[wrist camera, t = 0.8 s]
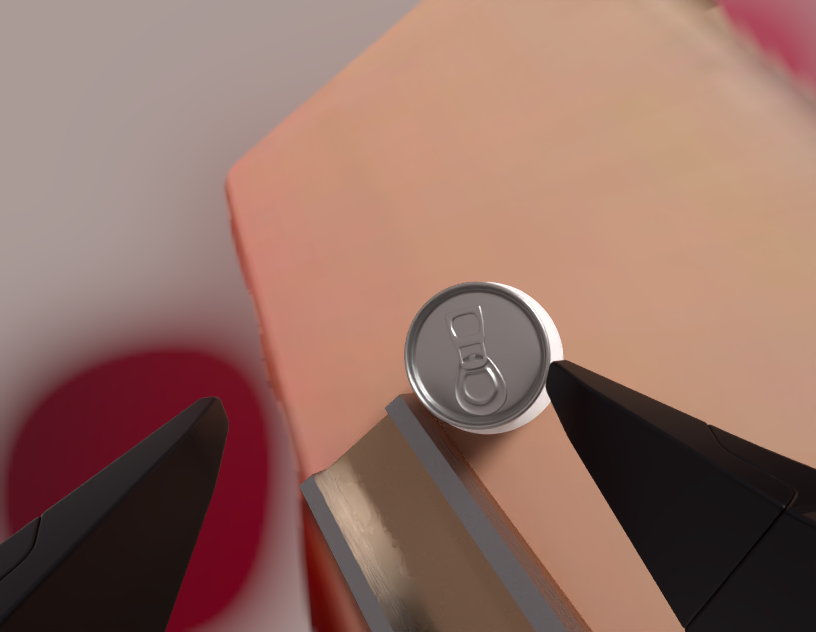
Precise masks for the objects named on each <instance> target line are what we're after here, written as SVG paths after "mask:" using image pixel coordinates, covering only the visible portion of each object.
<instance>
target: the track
mask: <svg viewBox="0 0 816 632" xmlns="http://www.w3.org/2000/svg"><path fill="white" fill-rule="evenodd" d="M385 409H386V411H387V412H388V415H387V416H385V417H384V418H383V419H382V420H381V421H380V422H379V423H378V424H377V425H376V426H374V427H373V428H372V429H371V430H370V431H369V432H368V433H367V434H366V435H365V436H363V437H362V438H361V439H360V440H359V441H358V442H357V443H356V444H355V445H353V446H352V447H351V448H350V449H349V450H348V451H347V452H346V453H345V454H344V455H342V456H341V457H340V458H339V459H338V460H337V461H336V462H335V463H334V464H333V465H331V466H330V467H329V468H328V469H325V470H323V471H320V472H318V473H315V474H313V475H311V476H310V477H309V478H308V479H307V480H306V481H305V482H304V483H302V484H301V485H300V486H299V487H300V489H301V491H302V493H303V495H304V497H305V499H306V501H307V503H308V505H309V507H310V509H311V511H312V513H313V515H314V517H315V519H316V521H317V523H318V525H319V527H320V529H321V531H322V533H323V535H324V537H325V539H326V541H327V543H328V545H329V547H330V549H331V551H332V553H333V555H334V557H335V559H336V561H337V563H338V565H339V567H340V569H341V571H342V573H343V575H344V577H345V579H346V581H347V583H348V585H349V587H350V589H351V591H352V594H353V596H354V598H355V600H356V602H357V604H358V606H359V608H360V610H361V612H362V614H363V616H364V618H365V620H366V622H367V624H368V626H369V628H370V630H371V632H592V631H591V629H590V628H589V627H588V625H587V624H586V623H585V621H584V620H583V618H582V617H581V616H580V614H579V613H578V612H577V610H576V609H575V608H574V606H573V605H572V604H571V602H570V601H569V599H568V598H567V597H566V595H565V594H564V593H563V591H562V590H561V589H560V587H559V586H558V585H557V583H556V582H555V581H554V579H553V578H552V576H551V575H550V574H549V572H548V571H547V570H546V568H545V567H544V566H543V564H542V563H541V562H540V560H539V559H538V557H537V556H536V555H535V553H534V552H533V551H532V549H531V548H530V547H529V545H528V544H527V543H526V541H525V540H524V538H523V537H522V536H521V534H520V533H519V532H518V530H517V529H516V528H515V526H514V525H513V524H512V522H511V521H510V519H509V518H508V517H507V515H506V514H505V513H504V511H503V510H502V509H501V507H500V506H499V505H498V503H497V502H496V500H495V499H494V498H493V496H492V495H491V494H490V492H489V491H488V490H487V488H486V487H485V486H484V484H483V483H482V482H481V480H480V479H479V477H478V476H477V475H476V473H475V472H474V471H473V469H472V468H471V467H470V465H469V464H468V463H467V461H466V460H465V458H464V457H463V456H462V454H461V453H460V452H459V450H458V449H457V448H456V446H455V445H454V444H453V442H452V441H451V439H450V438H449V437H448V435H447V434H446V433H445V431H444V430H443V429H442V427H441V426H440V425H439V423H438V422H437V420H436V419H435V418H434V416H433V415H432V414H431V412H430V411H429V410H428V409H427V408H426V407H425V406H424V405H423V404H422V403H421V402H420V400H419V399H418V397H417V396H416V394H415V393H410V394H402V395H399V396H398V397H396V398H395V399H394V400H393V401H392V402H391V403H390V404H389V405H388V406H387V407H386V408H385Z"/></svg>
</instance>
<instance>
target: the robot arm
mask: <svg viewBox="0 0 816 632" xmlns="http://www.w3.org/2000/svg"><path fill="white" fill-rule="evenodd" d="M545 387H546V392H547V394H548V396H549V398H550V400H551V403H552V405H553V407H554V409H555V411H556V413H557V415H558V417H559V419H560V422H561V424H562V426H563V428H564V430H565V432H566V434H567V436H568V438H569V440H570V441H571V443H572V445H573V447H574V448H575V450H576V452H577V453H578V455H579V457H580V458H581V460H582V462H583V463H584V465H585V466H586V468H587V470H588V471H589V473H590V475H591V476H592V478H593V480H594V481H595V483H596V485H597V486H598V488H599V490H600V491H601V493H602V495H603V496H604V498H605V500H606V501H607V503H608V504H609V506H610V508H611V509H612V511H613V513H614V514H615V516H616V518H617V519H618V521H619V523H620V524H621V526H622V528H623V529H624V531H625V533H626V534H627V536H628V537H629V539H630V541H631V542H632V544H633V546H634V547H635V549H636V551H637V552H638V554H639V556H640V557H641V559H642V561H643V562H644V564H645V566H646V567H647V569H648V571H649V572H650V574H651V575H652V577H653V579H654V580H655V582H656V584H657V585H658V587H659V589H660V590H661V592H662V594H663V595H664V597H665V599H666V600H667V602H668V604H669V605H670V607H671V608H672V610H673V612H674V613H675V615H676V617H677V618H678V620H679V622H680V623H681V625H682V627H683V628H685V632H816V469H815V468H812V467H810V466H807V465H805V464H802V463H800V462H797V461H795V460H792V459H790V458H787V457H785V456H782V455H780V454H778V453H775V452H773V451H770V450H768V449H765V448H763V447H760V446H758V445H756V444H753V443H751V442H749V441H746V440H744V439H742V438H740V437H737V436H735V435H733V434H730V433H728V432H726V431H724V430H721V429H719V428H717V427H715V426H713V425H707V423H706V422H703V421H701V420H699V419H697V418H695V417H692V416H690V415H688V414H686V413H683V412H681V411H679V410H677V409H674V408H672V407H670V406H668V405H666V404H663V403H661V402H659V401H657V400H654V399H652V398H650V397H648V396H645V395H643V394H641V393H639V392H637V391H634V390H632V389H630V388H628V387H625V386H623V385H621V384H619V383H616V382H614V381H612V380H610V379H608V378H605V377H603V376H601V375H599V374H596V373H594V372H592V371H590V370H588V369H585V368H583V367H581V366H579V365H576V364H574V363H572V362H570V361H567V360H558V361H553V362H551V363H550V365H549V370H548V374H547V379H546V384H545ZM228 429H229V422H228V418H227V415H226V412H225V410H224V407H223V404H222V401H221V400H220V399H219V398H218V397H207V398H201V399H199V400H198V401H196V402H195V403H193V404H192V405H191V406H189V407H188V408H187V409H185V410H184V411H183V412H181V413H180V414H178V415H177V416H176V417H174V418H173V419H171V420H170V421H169V422H168V423H166V424H165V425H163V426H162V427H160V428H159V429H158V430H156V431H155V432H154V433H152V434H151V435H150V436H148V437H147V438H145V439H144V440H143V441H142V442H140V443H139V444H137V445H136V446H134V447H133V448H132V449H130V450H129V451H128V452H127V453H125V454H123V455H122V456H121V457H119V458H118V459H117V460H115V461H114V462H113V463H111V464H110V465H108V466H107V467H106V468H104V469H103V470H102V471H101V472H99V473H97V474H96V475H95V476H93V477H92V478H91V479H89V480H88V481H87V482H85V483H84V484H82V485H81V486H80V487H78V488H77V489H75V490H74V491H73V492H71V493H70V494H69V495H67V496H66V497H64V498H63V499H62V500H60V501H59V502H58V503H56V504H55V505H54V506H52V507H51V508H50V509H48V510H47V511H45V512H44V513H43V514H42V516H41V517H37V518H36V519H34V520H33V521H31V522H30V523H29V524H27V525H26V526H25V527H23V528H22V529H21V530H19V531H18V532H17V533H15V534H14V535H12V536H11V537H10V538H8V539H7V540H5V541H4V542H3V543H1V544H0V632H165V630H166V627H167V624H168V622H169V619H170V615H171V613H172V610H173V607H174V604H175V601H176V599H177V596H178V593H179V590H180V587H181V584H182V581H183V578H184V576H185V573H186V570H187V567H188V564H189V561H190V558H191V555H192V553H193V550H194V547H195V544H196V541H197V538H198V535H199V532H200V529H201V527H202V524H203V521H204V518H205V515H206V512H207V510H208V507H209V504H210V501H211V498H212V494H213V492H214V488H215V485H216V481H217V478H218V473H219V469H220V465H221V460H222V456H223V451H224V447H225V443H226V438H227V434H228Z"/></svg>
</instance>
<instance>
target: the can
mask: <svg viewBox="0 0 816 632" xmlns="http://www.w3.org/2000/svg"><path fill="white" fill-rule="evenodd" d="M404 360H405V368H406V373H407V377H408V380H409V382H410V385H411V387H412V389H413V391H414V393H415V394H416V396H417V397H418V399H419V400H420V402H421V403H422V404H423V405H424V406H425V407H426V408H427V409H428V410H429V411H430V412H431V413H432V414H434V415H435V416H436V417H438V418H439V419H441V420H443V421H445V422H447V423H449V424H450V425H452V426H454V427H456V428H459V429H461V430H464V431H468V432H472V433H478V434H498V433H503V432H508V431H511V430H514V429H517V428H519V427H521V426H523V425H525V424H527V423H529V422H530V421H532V420H533V419H534V418H536V417H537V416H538V415H539V414H540V413H541V412H542V411H543V410H544V409H545V408H546V407H547V406H548V404H549V403H550V402H551V400H550V398H549V396H548V394H547V392H546V387H545V384H546V379H547V374H548V370H549V365H550V363H551V362H553V361H558V360H563V349H562V344H561V340H560V337H559V334H558V331H557V329H556V327H555V325H554V323H553V321H552V320H551V318H550V316H549V315H548V314H547V312H546V311H545V310H544V309H543V308H542V307H541V306H540V305H539V304H538V303H537V302H536V301H535V300H534V299H532V298H531V297H530V296H528V295H527V294H525V293H524V292H522V291H520V290H518V289H516V288H513V287H511V286H508V285H504V284H500V283H493V282H467V283H461V284H457V285H454V286H451V287H449V288H446V289H444V290H442V291H441V292H439V293H437V294H436V295H435V296H433V297H432V298H431V299H429V300H428V301H427V302H426V303H425V304H424V305H423V306H422V308H421V309H420V310H419V311H418V313H417V314H416V316H415V318H414V319H413V321H412V323H411V325H410V328H409V331H408V334H407V337H406V342H405V350H404Z"/></svg>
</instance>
